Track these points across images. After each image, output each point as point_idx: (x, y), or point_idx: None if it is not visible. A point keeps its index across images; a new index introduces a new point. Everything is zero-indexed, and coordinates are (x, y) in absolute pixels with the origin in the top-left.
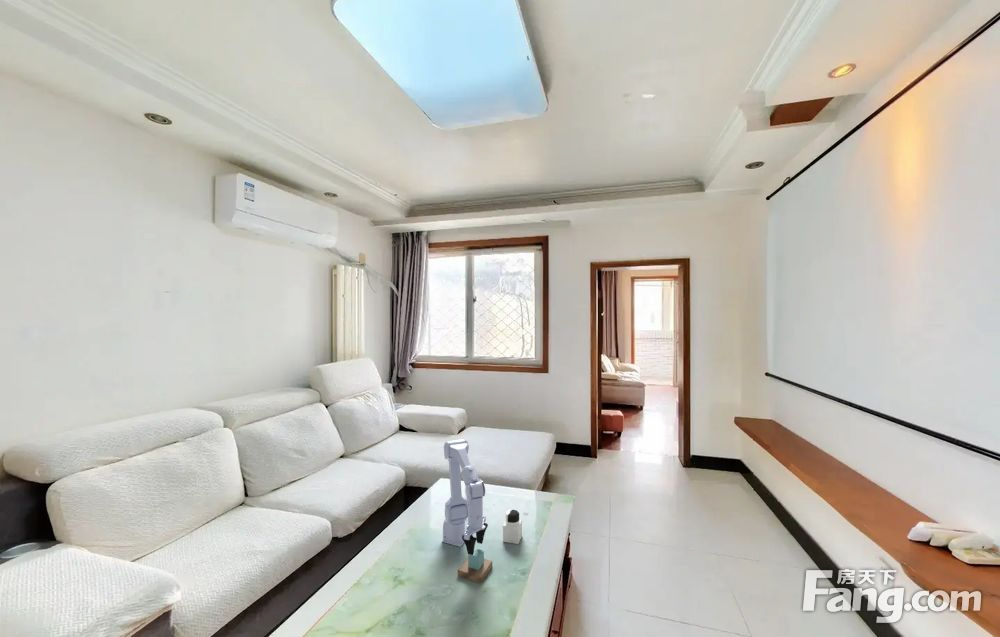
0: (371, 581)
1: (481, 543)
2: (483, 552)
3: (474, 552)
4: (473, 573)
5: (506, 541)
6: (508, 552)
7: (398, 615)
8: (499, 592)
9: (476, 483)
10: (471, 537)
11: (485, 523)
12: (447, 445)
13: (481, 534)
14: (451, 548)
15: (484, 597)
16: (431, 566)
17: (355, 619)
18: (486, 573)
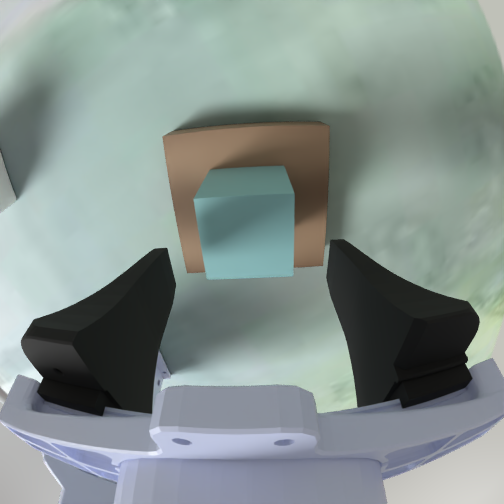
0: None
1: (166, 251)
2: (203, 193)
3: (255, 249)
4: (319, 179)
5: (9, 186)
6: (45, 133)
7: (486, 295)
8: (336, 15)
9: None
10: (435, 372)
11: (38, 365)
12: None
13: (138, 307)
14: (175, 343)
15: (395, 72)
16: (300, 347)
17: (482, 345)
18: (252, 124)
